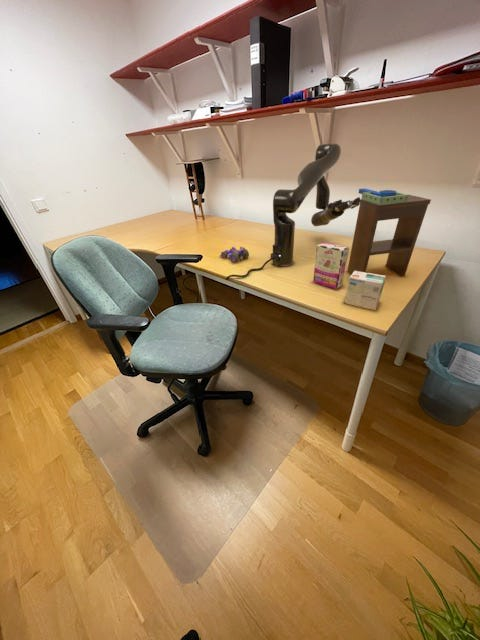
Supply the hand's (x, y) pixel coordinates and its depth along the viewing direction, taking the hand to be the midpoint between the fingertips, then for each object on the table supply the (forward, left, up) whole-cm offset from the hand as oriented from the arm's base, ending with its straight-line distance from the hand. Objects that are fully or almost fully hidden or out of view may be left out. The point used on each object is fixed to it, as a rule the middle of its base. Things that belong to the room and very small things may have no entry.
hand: (350, 200), depth 114 cm
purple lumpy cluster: (-45, +33, -27) cm, 62 cm away
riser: (-4, -23, -26) cm, 35 cm away
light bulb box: (-28, -36, -27) cm, 52 cm away
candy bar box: (-27, -18, -27) cm, 42 cm away
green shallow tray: (-8, -21, +4) cm, 23 cm away
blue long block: (-6, -16, +4) cm, 18 cm away
